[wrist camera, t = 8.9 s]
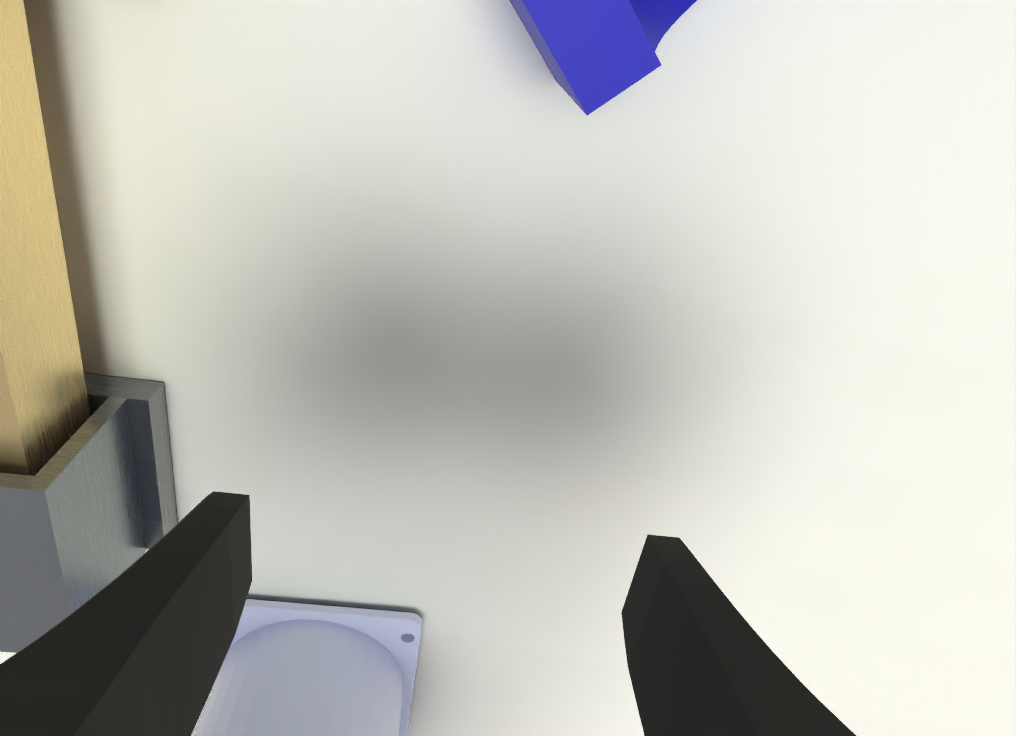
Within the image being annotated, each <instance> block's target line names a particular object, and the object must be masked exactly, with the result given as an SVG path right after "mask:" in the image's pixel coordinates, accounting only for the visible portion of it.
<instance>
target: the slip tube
mask: <svg viewBox="0 0 1016 736" xmlns="http://www.w3.org/2000/svg"><path fill="white" fill-rule="evenodd" d="M90 417H91V414H90V408H89V402H88V396H87V390H86V384H85V377H84V371H83V365H82V359H81V353H80V347H79V341H78V334H77V328H76V322H75V316H74V310H73V304H72V297H71V291H70V285H69V279H68V273H67V267H66V261H65V254H64V248H63V242H62V236H61V230H60V224H59V217H58V211H57V205H56V199H55V193H54V187H53V181H52V174H51V168H50V162H49V156H48V150H47V144H46V138H45V131H44V125H43V119H42V113H41V107H40V101H39V94H38V88H37V82H36V76H35V70H34V64H33V58H32V51H31V45H30V39H29V33H28V27H27V21H26V15H25V8H24V2H23V0H0V473H9V474H19V475H29V476H35V475H36V474H37V473H38V472H39V471H40V470H41V469H42V468H43V467H44V466H45V465H46V463H47V462H48V461H49V460H50V459H51V458H52V457H53V456H54V455H55V454H56V453H57V452H58V451H59V450H60V449H61V448H62V446H63V445H64V444H65V443H66V442H67V441H68V440H69V439H70V438H71V437H72V436H73V435H74V434H75V433H76V432H77V431H78V429H79V428H80V427H81V426H82V425H83V424H84V423H85V422H86V421H87V420H88V419H89V418H90Z"/></svg>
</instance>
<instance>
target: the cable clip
mask: <svg viewBox="0 0 1016 736" xmlns="http://www.w3.org/2000/svg"><path fill="white" fill-rule="evenodd" d="M696 1H697V0H510V2H511V3H512V5H513V7H514V9H515V10H516V12H517V14H518V16H519V17H520V19H521V21H522V23H523V24H524V26H525V28H526V29H527V31H528V33H529V35H530V36H531V38H532V40H533V42H534V43H535V45H536V47H537V49H538V50H539V52H540V54H541V55H542V57H543V59H544V61H545V62H546V64H547V66H548V68H549V69H550V71H551V73H552V74H553V76H554V78H555V80H556V81H557V82H558V84H559V85H560V86H561V87H562V88H563V89H564V90H565V91H566V92H567V94H568V95H569V96H570V97H571V98H572V99H573V100H574V101H575V103H576V104H577V105H578V106H579V107H580V108H581V109H582V110H583V111H584V113H585V114H586V115H589V114H590V113H592V112H593V111H594V110H596V109H597V108H599V107H600V106H602V105H603V104H605V103H606V102H608V101H609V100H611V99H612V98H614V97H615V96H617V95H618V94H620V93H621V92H622V91H624V90H625V89H627V88H628V87H630V86H631V85H633V84H634V83H636V82H637V81H639V80H640V79H642V78H643V77H645V76H646V75H648V74H649V73H650V72H652V71H653V70H655V69H656V68H658V67H659V66H661V63H660V61H659V59H658V57H657V55H656V53H655V50H656V48H657V45H658V43H659V42H660V40H661V39H662V37H663V36H664V34H665V33H666V32H667V31H668V29H669V28H670V27H671V26H672V25H673V24H674V23H675V21H676V20H677V19H678V18H679V17H680V16H681V15H682V14H683V13H684V12H685V11H686V10H687V9H688V8H689V7H690V6H691V5H693V4H694V3H695V2H696Z"/></svg>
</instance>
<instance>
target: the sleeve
mask: <svg viewBox="0 0 1016 736" xmlns="http://www.w3.org/2000/svg"><path fill="white" fill-rule="evenodd" d="M84 377H85V384H86V390H87V396H88V402H89V408H90V414H91V417H90V418H89V419H88V420H87V421H86V422H85V423H84V424H83V425H82V426H81V427H80V428H79V429H78V431H77V432H76V433H75V434H74V435H73V436H72V437H71V438H70V439H69V440H68V441H67V442H66V443H65V444H64V445H63V446H62V448H61V449H60V450H59V451H58V452H57V453H56V454H55V455H54V456H53V457H52V458H51V459H50V460H49V461H48V462H47V463H46V465H45V466H44V467H43V468H42V469H41V470H40V471H39V472H38V473H37V474H36V475H35V476H29V475H19V474H9V473H0V651H1V652H15V653H18V652H19V651H21V650H22V649H24V648H25V647H26V646H28V645H29V644H31V643H32V642H34V641H35V640H36V639H38V638H39V637H41V636H42V635H43V634H45V633H46V632H48V631H49V630H50V629H52V628H53V627H54V626H56V625H57V624H58V623H60V622H61V621H62V620H64V619H65V618H66V617H68V616H69V615H70V614H72V613H73V612H74V611H75V610H77V609H78V608H79V607H80V606H82V605H83V604H84V603H85V602H87V601H88V600H89V599H91V598H92V597H93V596H94V595H96V594H97V593H98V592H99V591H101V590H102V589H103V588H104V587H106V586H107V585H108V584H109V583H111V582H112V581H113V580H114V579H115V578H117V577H118V576H119V575H120V574H121V573H123V572H124V571H125V570H126V569H127V568H128V567H130V566H131V565H132V564H133V563H134V562H135V561H136V560H138V559H139V558H140V557H141V556H142V555H143V554H144V552H145V551H146V549H150V548H151V547H153V546H154V545H155V544H156V543H157V542H158V541H159V540H160V539H161V538H163V537H164V536H165V535H166V534H167V533H168V532H169V531H170V530H171V529H172V528H174V527H175V526H176V525H177V524H178V522H177V511H176V501H175V491H174V481H173V471H172V461H171V451H170V441H169V430H168V420H167V410H166V400H165V390H164V382H157V381H148V380H140V379H131V378H122V377H113V376H105V375H96V374H87V373H84Z"/></svg>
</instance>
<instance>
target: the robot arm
mask: <svg viewBox="0 0 1016 736" xmlns="http://www.w3.org/2000/svg"><path fill="white" fill-rule="evenodd" d="M251 582H252V562H251V531H250V500H249V495H243V494H233V493H223V492H212V493H211V494H209V495H208V496H207V497H206V498H205V499H203V500H202V501H201V502H200V503H199V504H198V505H197V506H196V507H195V508H194V509H193V510H192V511H191V512H190V513H189V514H188V515H186V516H185V517H184V518H183V519H182V520H181V521H180V522H179V523H178V524H177V525H176V526H175V527H174V528H172V529H171V530H170V531H169V532H168V533H167V534H166V535H165V536H164V537H163V538H161V539H160V540H159V541H158V542H157V543H156V544H155V545H154V546H153V547H151V548H150V549H149V550H148V551H147V552H146V553H145V554H143V555H142V556H141V557H140V558H139V559H138V560H136V561H135V562H134V563H133V564H132V565H131V566H130V567H128V568H127V569H126V570H125V571H124V572H123V573H121V574H120V575H119V576H118V577H117V578H115V579H114V580H113V581H112V582H111V583H109V584H108V585H107V586H106V587H104V588H103V589H102V590H101V591H99V592H98V593H97V594H96V595H94V596H93V597H92V598H91V599H89V600H88V601H87V602H85V603H84V604H83V605H82V606H80V607H79V608H78V609H77V610H75V611H74V612H73V613H72V614H70V615H69V616H68V617H66V618H65V619H64V620H62V621H61V622H60V623H58V624H57V625H56V626H54V627H53V628H52V629H50V630H49V631H48V632H46V633H45V634H43V635H42V636H41V637H39V638H38V639H36V640H35V641H34V642H32V643H31V644H29V645H28V646H26V647H25V648H24V649H22V650H21V651H19V652H18V653H16V654H15V655H13V656H12V657H10V658H9V659H8V660H6V661H5V662H3V663H2V664H0V736H191V734H192V731H193V729H194V727H195V725H196V722H197V720H198V718H199V716H200V713H201V711H202V709H203V707H204V705H205V702H206V700H207V698H208V696H209V693H210V691H211V689H212V687H213V690H212V692H211V695H210V697H209V700H208V702H207V705H206V707H205V710H204V713H203V715H202V718H201V720H200V723H199V725H198V728H197V730H196V733H195V736H407V732H408V725H409V718H410V711H411V703H412V696H413V689H414V682H415V675H416V668H417V660H418V653H419V646H420V639H421V632H422V619H421V617H420V616H418V615H417V614H414V613H409V612H397V611H385V610H373V609H361V608H349V607H337V606H325V605H313V604H301V603H289V602H277V601H265V600H254V599H247V595H248V592H249V589H250V585H251ZM622 620H623V630H624V639H625V647H626V655H627V662H628V668H629V673H630V677H631V681H632V686H633V690H634V694H635V698H636V702H637V706H638V710H639V715H640V719H641V723H642V727H643V731H644V735H645V736H856V735H855V734H854V733H853V732H852V731H850V730H849V729H848V728H847V727H846V726H845V725H844V724H843V723H842V722H841V721H840V720H839V719H838V718H837V717H836V716H835V715H834V714H833V713H832V712H831V711H829V710H828V709H827V708H826V707H825V706H824V705H823V704H822V703H821V702H820V701H819V700H818V699H817V698H816V697H815V696H814V695H813V694H812V693H811V692H810V691H809V690H808V689H807V688H806V687H805V686H804V685H803V684H802V683H801V682H800V681H799V680H798V679H797V678H796V676H795V675H794V674H793V673H792V672H791V671H790V670H789V669H788V668H787V667H786V666H785V665H784V663H783V662H782V661H781V660H780V659H779V658H778V657H777V656H776V655H775V654H774V653H773V652H772V650H771V649H770V648H769V647H768V646H767V645H766V644H765V642H764V641H763V640H762V639H761V638H760V637H759V636H758V634H757V633H756V632H755V631H754V630H753V629H752V627H751V626H750V625H749V624H748V623H747V622H746V620H745V619H744V618H743V617H742V616H741V614H740V613H739V612H738V611H737V610H736V608H735V607H734V606H733V605H732V603H731V602H730V601H729V600H728V598H727V597H726V596H725V595H724V593H723V592H722V591H721V590H720V588H719V587H718V586H717V585H716V583H715V582H714V581H713V580H712V578H711V577H710V576H709V575H708V573H707V572H706V571H705V569H704V568H703V567H702V566H701V564H700V563H699V562H698V561H697V559H696V558H695V557H694V555H693V554H692V553H691V552H690V550H689V549H688V548H687V547H686V545H685V544H684V543H683V542H682V540H681V539H680V538H676V537H666V536H656V535H647V538H646V541H645V544H644V547H643V550H642V553H641V556H640V559H639V562H638V565H637V568H636V571H635V574H634V577H633V580H632V583H631V586H630V589H629V592H628V595H627V598H626V601H625V604H624V607H623V609H622ZM406 633H409V634H406Z"/></svg>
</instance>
